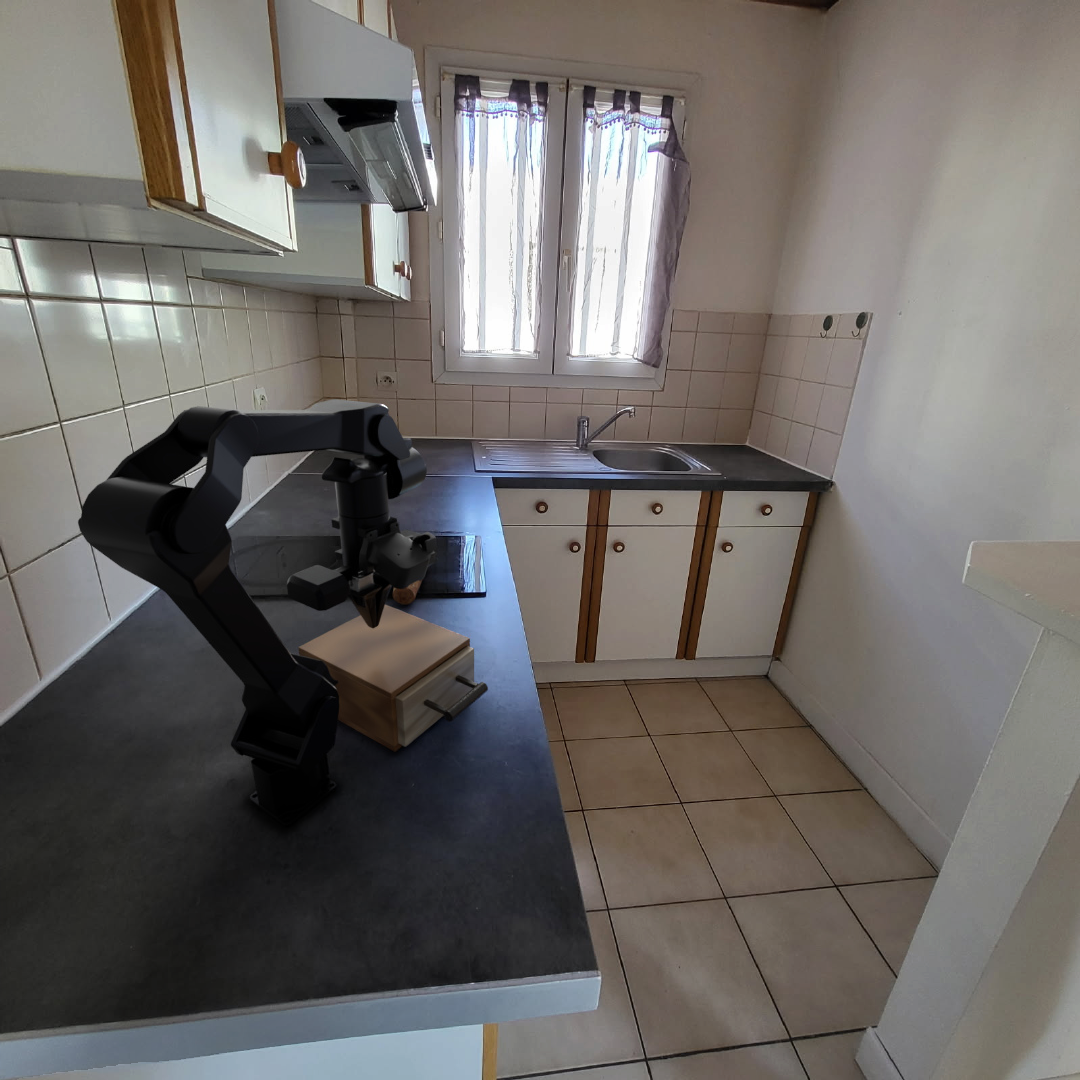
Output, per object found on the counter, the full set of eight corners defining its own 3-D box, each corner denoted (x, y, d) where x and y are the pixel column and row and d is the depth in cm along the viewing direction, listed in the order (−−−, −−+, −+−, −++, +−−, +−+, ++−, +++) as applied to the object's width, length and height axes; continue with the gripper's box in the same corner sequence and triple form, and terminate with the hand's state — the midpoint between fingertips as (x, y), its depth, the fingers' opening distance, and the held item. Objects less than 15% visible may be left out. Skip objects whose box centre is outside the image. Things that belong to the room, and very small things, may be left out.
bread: (433, 564, 117) (432, 539, 115) (417, 608, 100) (416, 580, 98) (403, 563, 117) (401, 538, 115) (381, 607, 100) (379, 579, 97)
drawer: (502, 702, 75) (503, 660, 73) (435, 763, 65) (433, 716, 62) (393, 653, 85) (391, 614, 82) (319, 700, 74) (314, 656, 72)
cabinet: (470, 690, 79) (470, 638, 76) (394, 752, 67) (390, 693, 64) (386, 652, 87) (382, 603, 84) (305, 701, 75) (297, 647, 72)
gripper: (347, 552, 54) (359, 686, 60) (468, 504, 69) (468, 615, 75) (275, 527, 59) (293, 652, 65) (402, 487, 74) (407, 592, 80)
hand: (373, 626), depth 71 cm, fingers closed
